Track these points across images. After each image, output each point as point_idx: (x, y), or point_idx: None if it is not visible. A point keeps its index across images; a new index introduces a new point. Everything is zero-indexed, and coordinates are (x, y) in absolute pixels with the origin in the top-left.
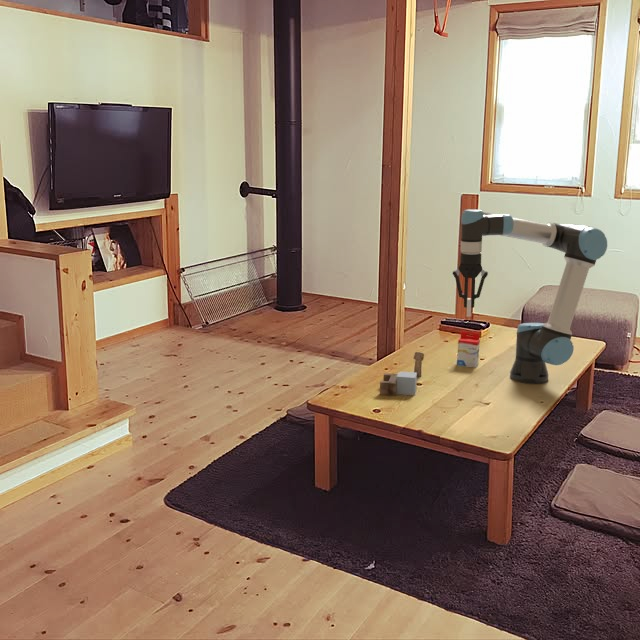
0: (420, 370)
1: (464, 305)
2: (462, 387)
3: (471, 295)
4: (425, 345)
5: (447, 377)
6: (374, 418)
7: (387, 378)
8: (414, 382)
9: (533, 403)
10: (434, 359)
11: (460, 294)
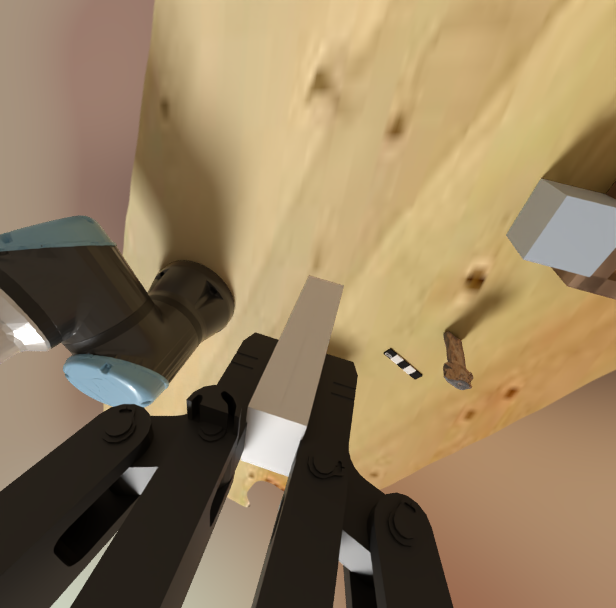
0: (449, 341)
1: (349, 378)
2: (358, 245)
3: (216, 473)
4: (365, 476)
5: (375, 320)
6: None
7: (613, 276)
8: (561, 191)
9: (185, 92)
10: (370, 419)
11: (410, 555)
